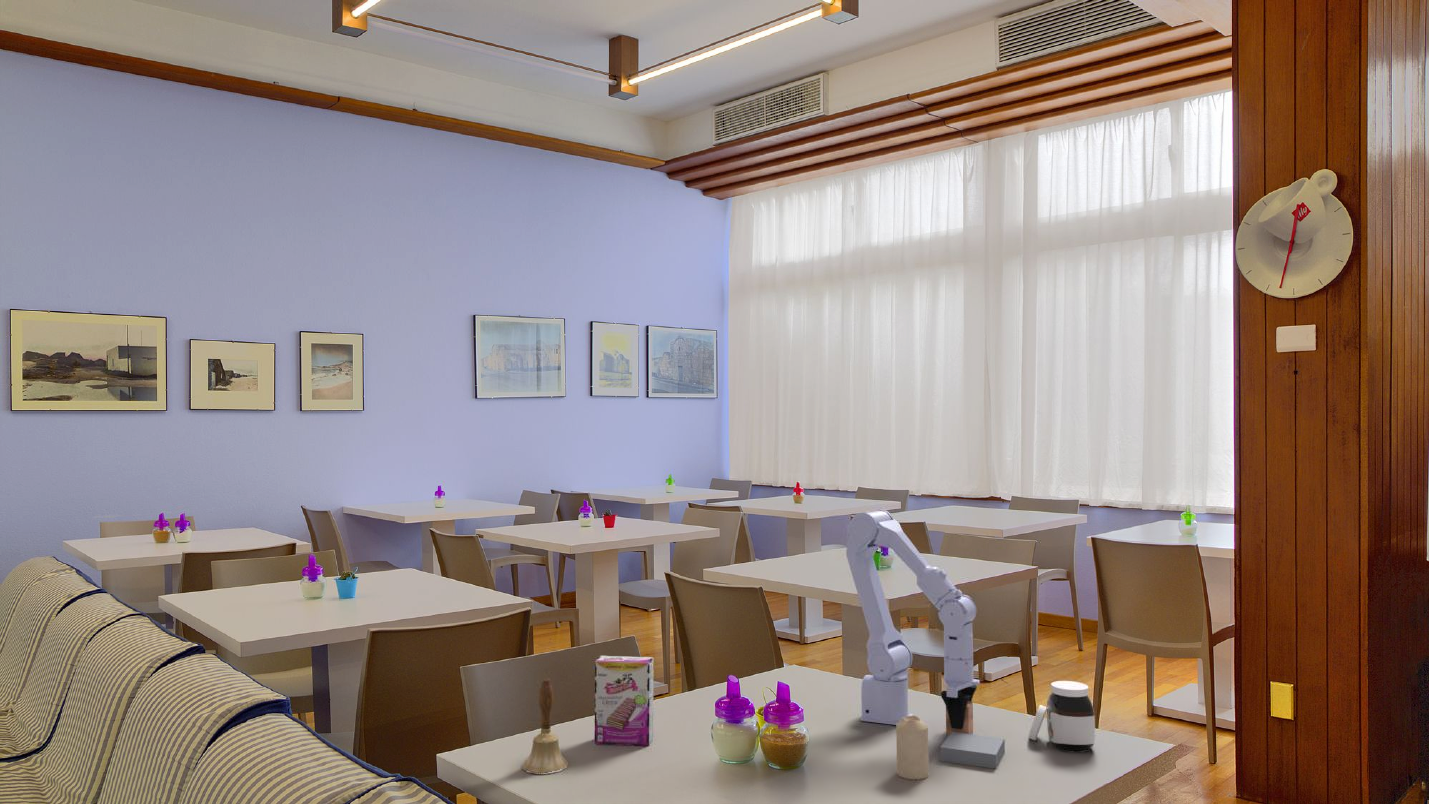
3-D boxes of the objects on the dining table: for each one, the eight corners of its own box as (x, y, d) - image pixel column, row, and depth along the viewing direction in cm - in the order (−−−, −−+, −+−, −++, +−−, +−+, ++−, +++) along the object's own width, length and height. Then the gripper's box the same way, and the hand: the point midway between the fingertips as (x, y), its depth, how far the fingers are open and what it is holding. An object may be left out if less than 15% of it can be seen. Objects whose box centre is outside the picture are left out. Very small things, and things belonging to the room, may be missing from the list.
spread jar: (1101, 754, 177) (1099, 692, 178) (1040, 755, 177) (1039, 692, 178) (1077, 734, 189) (1076, 676, 190) (1021, 734, 189) (1020, 676, 190)
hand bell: (576, 762, 175) (576, 675, 176) (553, 777, 167) (554, 686, 168) (537, 757, 178) (537, 671, 178) (513, 771, 170) (513, 682, 171)
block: (946, 734, 189) (945, 704, 190) (950, 728, 194) (950, 698, 194) (968, 737, 188) (968, 707, 188) (973, 731, 192) (972, 701, 192)
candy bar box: (593, 745, 184) (593, 660, 185) (599, 737, 189) (599, 654, 190) (650, 746, 183) (649, 661, 184) (654, 738, 188) (654, 655, 189)
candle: (928, 781, 164) (928, 723, 165) (896, 778, 165) (896, 721, 166) (928, 770, 170) (927, 713, 170) (897, 768, 171) (896, 712, 171)
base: (940, 760, 174) (940, 747, 174) (951, 744, 183) (951, 731, 183) (996, 768, 170) (995, 754, 170) (1004, 751, 179) (1004, 738, 179)
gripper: (972, 666, 183) (973, 737, 182) (985, 651, 196) (986, 717, 195) (935, 663, 186) (936, 733, 185) (950, 648, 199) (951, 713, 198)
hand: (959, 724), depth 191 cm, fingers closed on block, 4 cm apart
